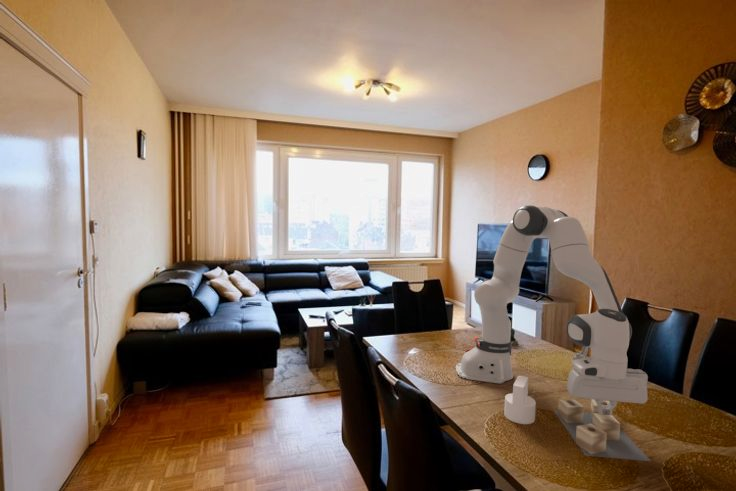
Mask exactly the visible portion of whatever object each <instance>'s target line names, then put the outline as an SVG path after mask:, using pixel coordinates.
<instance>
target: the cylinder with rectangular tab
mask: <svg viewBox="0 0 736 491" xmlns="http://www.w3.org/2000/svg"><path fill="white" fill-rule="evenodd" d="M528 389H529V377H528V376H525V375H518V376H517V378H515V381H514V382H513V385H512V393H508V394H506V395H505V396H504V410H503V411H504V412H503V414H504V416H505V417H506V419H507V420H508V421H511V422H513V423H517V424H520V425H531V424H533V423H534V422H535V420H536V404H537V403H536V402H537V401H536V400H535V399H534V398H533V397H531V396H529V394H528V393H529V392H528V391H529V390H528Z"/></svg>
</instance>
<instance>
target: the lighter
mask: <svg viewBox="0 0 736 491" xmlns="http://www.w3.org/2000/svg"><path fill="white" fill-rule="evenodd" d="M589 349H590V348H589V347H583V346H582V348H581V352H580V353H579V352H576V353H575V354H574V355H572V361H573V360H576V359H581V358H585V357H587V355H588V352H589Z"/></svg>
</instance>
